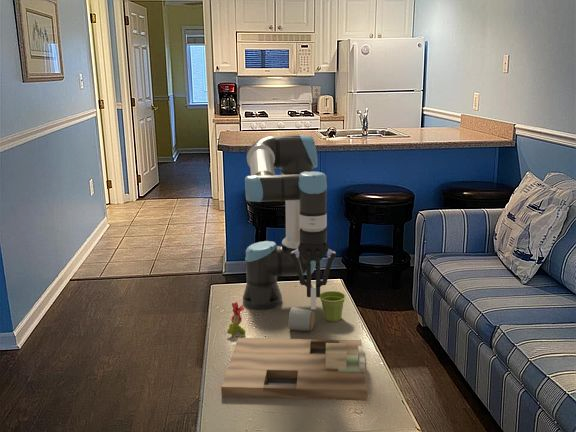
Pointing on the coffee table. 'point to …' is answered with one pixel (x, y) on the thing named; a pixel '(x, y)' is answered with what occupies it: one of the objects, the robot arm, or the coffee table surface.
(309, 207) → the robot arm
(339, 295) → the plant pot
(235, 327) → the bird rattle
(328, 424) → the coffee table surface
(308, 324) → the ceramic mug
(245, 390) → the board
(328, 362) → the maple block
